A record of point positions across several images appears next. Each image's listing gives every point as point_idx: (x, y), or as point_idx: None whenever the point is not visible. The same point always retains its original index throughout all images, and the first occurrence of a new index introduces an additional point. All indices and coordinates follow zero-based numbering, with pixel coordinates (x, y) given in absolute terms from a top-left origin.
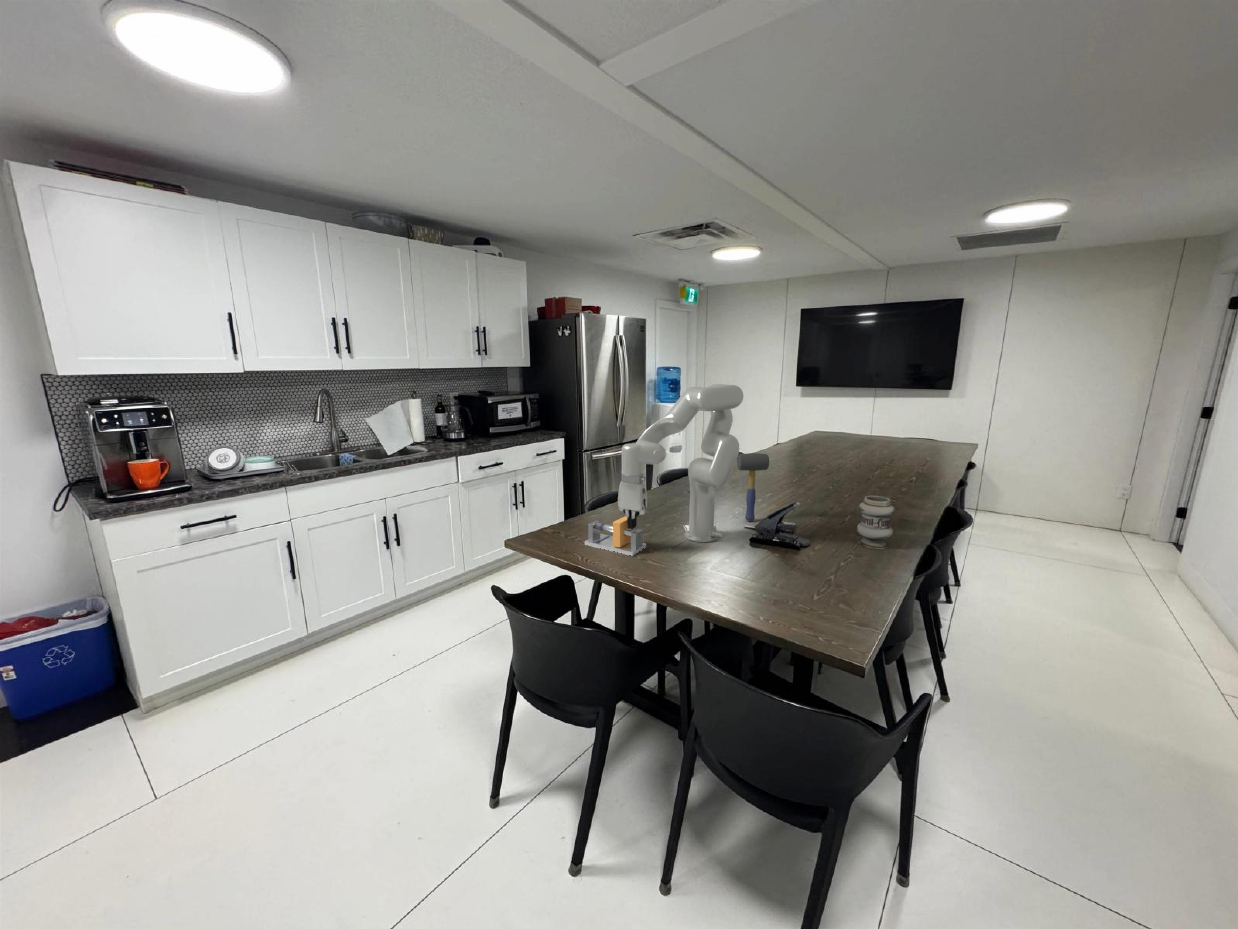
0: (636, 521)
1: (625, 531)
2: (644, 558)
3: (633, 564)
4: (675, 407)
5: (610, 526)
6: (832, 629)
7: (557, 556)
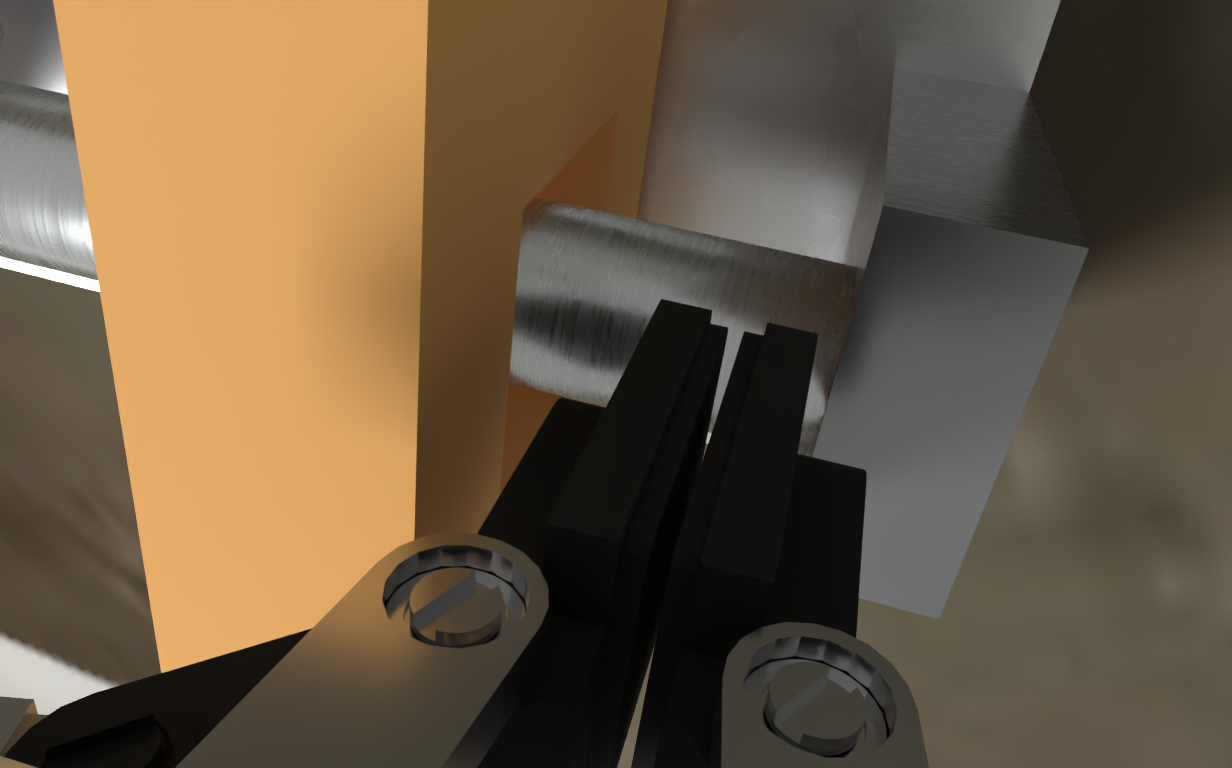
0: (857, 564)
1: (557, 393)
2: (1147, 480)
3: (1003, 703)
4: None
5: (48, 253)
6: None
7: (36, 641)
